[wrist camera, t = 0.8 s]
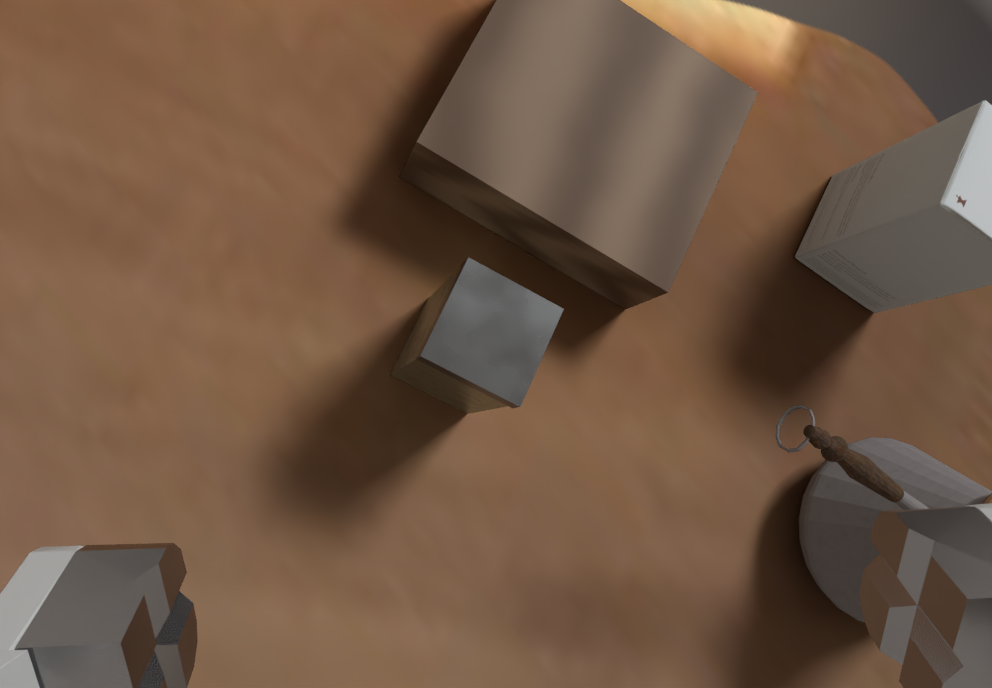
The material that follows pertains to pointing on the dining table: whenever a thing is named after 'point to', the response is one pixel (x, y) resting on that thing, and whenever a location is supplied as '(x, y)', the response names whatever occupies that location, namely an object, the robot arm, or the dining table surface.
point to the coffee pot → (865, 503)
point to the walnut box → (583, 141)
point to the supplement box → (910, 217)
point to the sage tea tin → (478, 341)
